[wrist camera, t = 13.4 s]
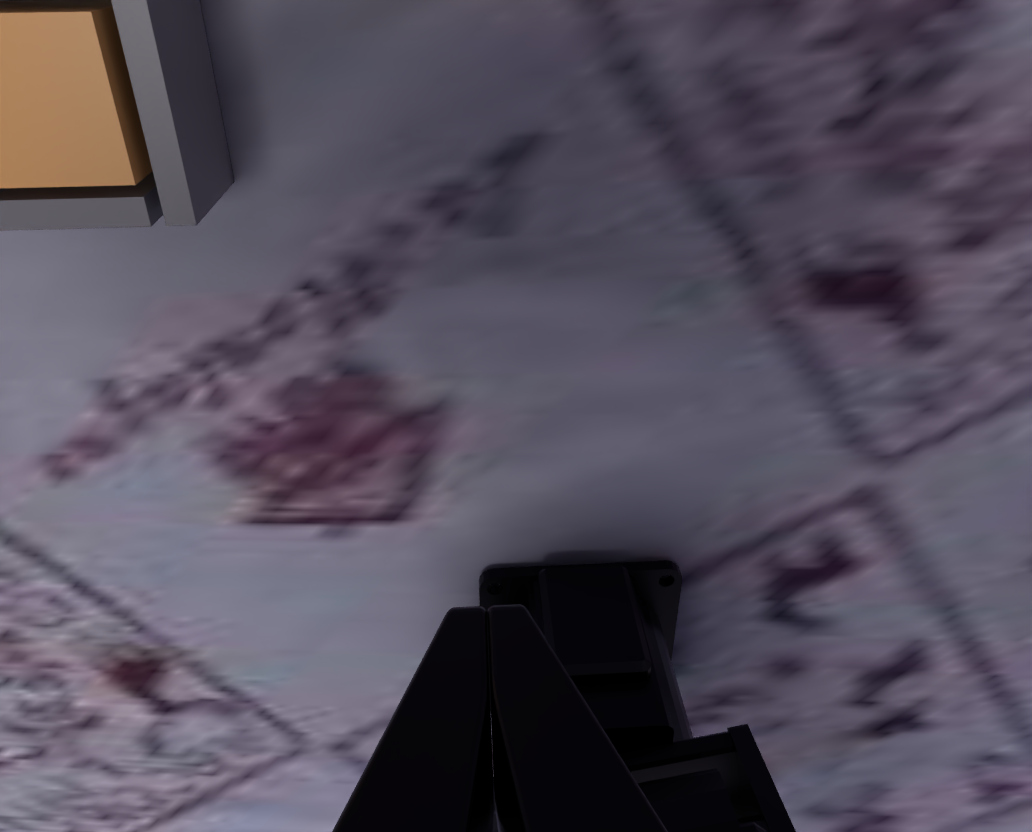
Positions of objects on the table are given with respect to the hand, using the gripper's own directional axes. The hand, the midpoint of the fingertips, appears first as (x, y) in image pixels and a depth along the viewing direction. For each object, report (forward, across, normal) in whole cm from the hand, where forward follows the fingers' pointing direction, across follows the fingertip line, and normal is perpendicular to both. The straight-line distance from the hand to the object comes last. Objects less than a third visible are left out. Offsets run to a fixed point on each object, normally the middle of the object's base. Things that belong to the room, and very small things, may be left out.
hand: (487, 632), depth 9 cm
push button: (+12, +8, -4) cm, 15 cm away
